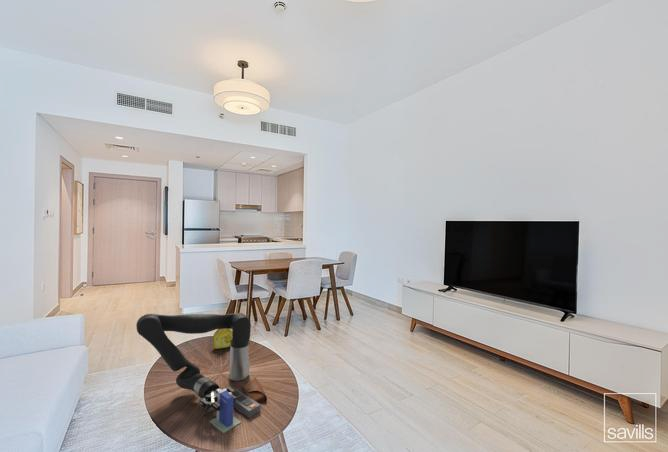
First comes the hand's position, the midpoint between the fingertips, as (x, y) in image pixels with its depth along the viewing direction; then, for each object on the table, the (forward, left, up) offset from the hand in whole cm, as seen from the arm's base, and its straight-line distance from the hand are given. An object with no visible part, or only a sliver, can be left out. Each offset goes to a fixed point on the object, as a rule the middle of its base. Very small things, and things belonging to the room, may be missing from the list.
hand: (227, 404), depth 122 cm
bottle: (-38, -66, -8) cm, 77 cm away
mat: (0, -1, -8) cm, 8 cm away
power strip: (-5, -9, -8) cm, 13 cm away
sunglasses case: (-20, -9, -9) cm, 24 cm away
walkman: (0, -1, -8) cm, 8 cm away
